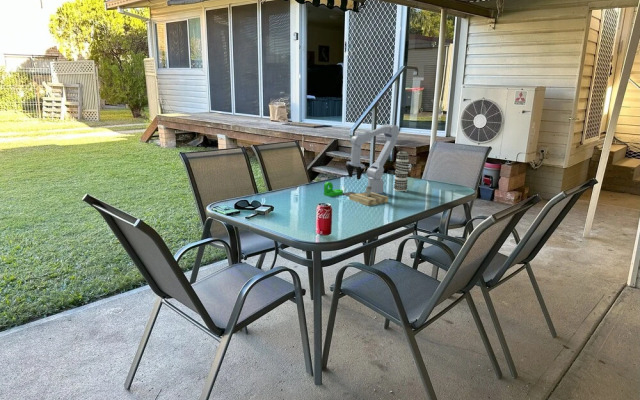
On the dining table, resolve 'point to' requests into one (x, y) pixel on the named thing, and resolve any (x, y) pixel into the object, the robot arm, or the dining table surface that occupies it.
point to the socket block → (368, 198)
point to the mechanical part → (331, 190)
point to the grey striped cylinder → (401, 171)
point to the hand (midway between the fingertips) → (354, 178)
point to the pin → (368, 191)
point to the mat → (348, 193)
